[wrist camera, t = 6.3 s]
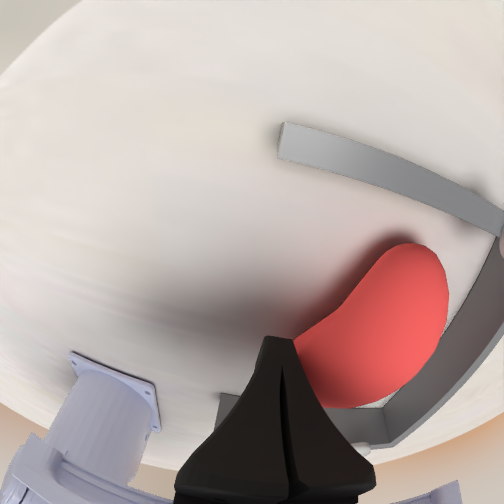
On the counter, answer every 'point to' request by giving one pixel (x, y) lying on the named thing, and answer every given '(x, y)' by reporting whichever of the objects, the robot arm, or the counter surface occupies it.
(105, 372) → the robot arm
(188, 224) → the counter surface
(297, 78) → the counter surface
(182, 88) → the counter surface
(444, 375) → the gray u-shaped bracket
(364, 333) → the red kidney bean shape
